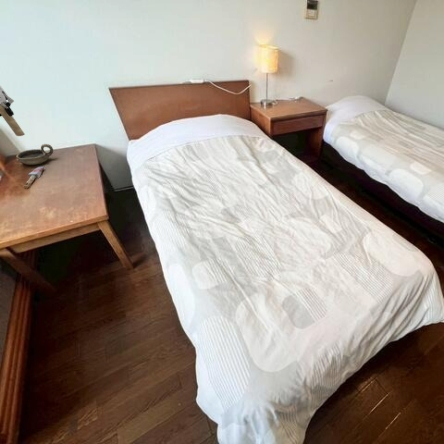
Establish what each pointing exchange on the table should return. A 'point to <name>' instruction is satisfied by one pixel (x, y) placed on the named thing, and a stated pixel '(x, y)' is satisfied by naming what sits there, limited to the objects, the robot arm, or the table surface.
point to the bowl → (35, 155)
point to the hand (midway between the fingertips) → (6, 115)
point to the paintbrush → (33, 176)
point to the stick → (11, 122)
